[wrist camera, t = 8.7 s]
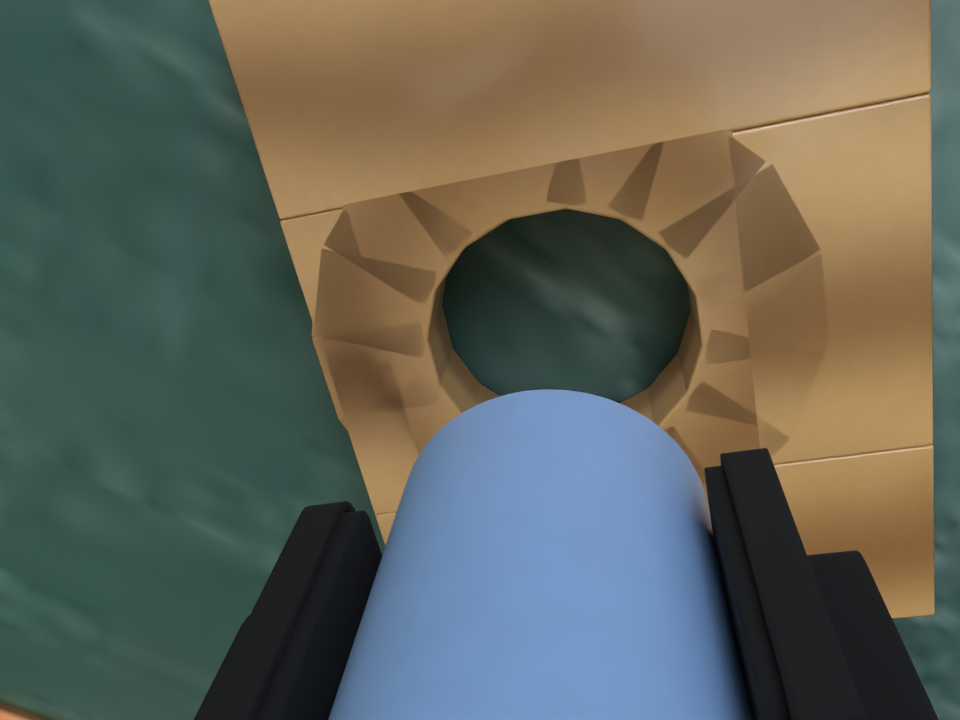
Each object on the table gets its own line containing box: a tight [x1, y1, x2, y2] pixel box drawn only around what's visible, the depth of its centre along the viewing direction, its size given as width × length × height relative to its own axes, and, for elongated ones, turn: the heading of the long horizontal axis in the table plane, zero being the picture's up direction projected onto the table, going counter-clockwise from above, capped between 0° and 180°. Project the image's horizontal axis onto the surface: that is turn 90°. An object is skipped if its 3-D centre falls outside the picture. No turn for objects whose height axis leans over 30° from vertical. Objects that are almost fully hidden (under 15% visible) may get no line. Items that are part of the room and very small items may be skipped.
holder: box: [209, 0, 934, 619], centre depth 18 cm, size 16×12×2 cm
